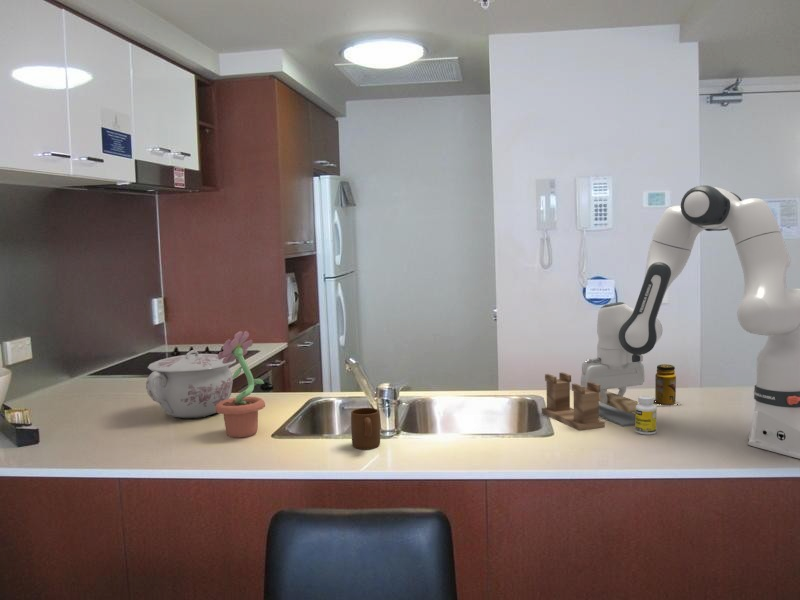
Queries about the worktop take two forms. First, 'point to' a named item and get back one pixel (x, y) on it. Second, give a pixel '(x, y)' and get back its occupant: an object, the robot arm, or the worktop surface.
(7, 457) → the worktop surface
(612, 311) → the robot arm
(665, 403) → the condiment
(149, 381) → the chamber pot
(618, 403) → the rail
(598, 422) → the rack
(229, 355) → the decorative flower
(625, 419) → the mat
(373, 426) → the mug
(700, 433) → the worktop surface
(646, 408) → the supplement bottle
